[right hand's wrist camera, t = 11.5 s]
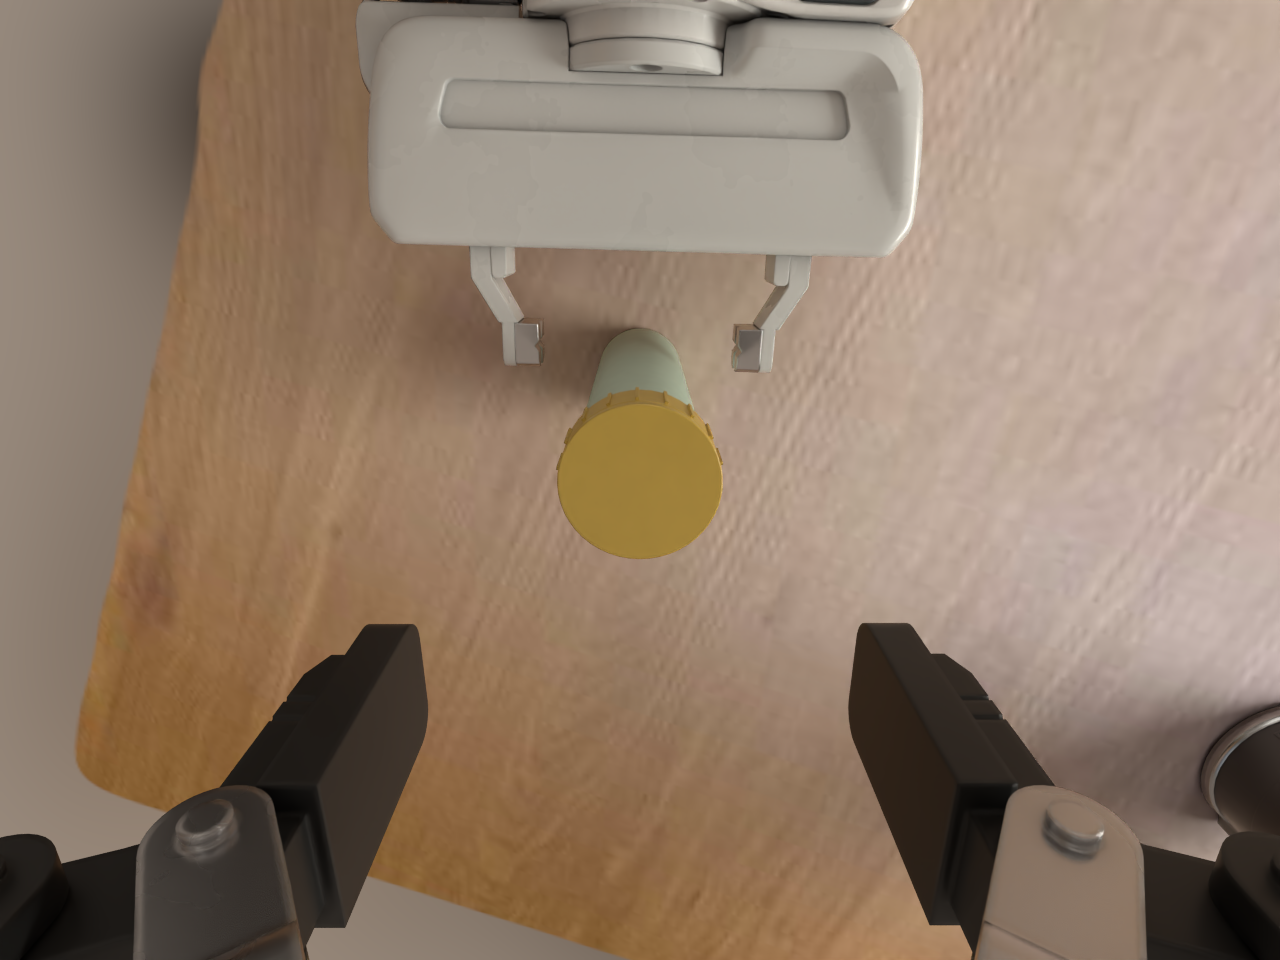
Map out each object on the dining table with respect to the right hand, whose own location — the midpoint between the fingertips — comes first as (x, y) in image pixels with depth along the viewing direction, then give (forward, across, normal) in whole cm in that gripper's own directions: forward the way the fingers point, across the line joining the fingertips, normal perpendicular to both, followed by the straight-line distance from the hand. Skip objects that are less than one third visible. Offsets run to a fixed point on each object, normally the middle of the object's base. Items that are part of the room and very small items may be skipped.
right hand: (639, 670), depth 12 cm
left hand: (+19, 0, +1) cm, 19 cm away
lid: (+9, 0, 0) cm, 9 cm away
